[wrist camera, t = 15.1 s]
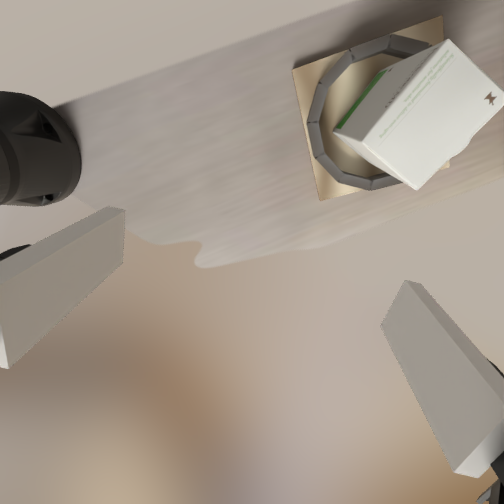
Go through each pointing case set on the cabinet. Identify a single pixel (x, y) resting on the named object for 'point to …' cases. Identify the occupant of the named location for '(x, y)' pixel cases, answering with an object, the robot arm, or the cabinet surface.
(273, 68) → the cabinet surface
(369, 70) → the collar
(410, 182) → the skincare box
